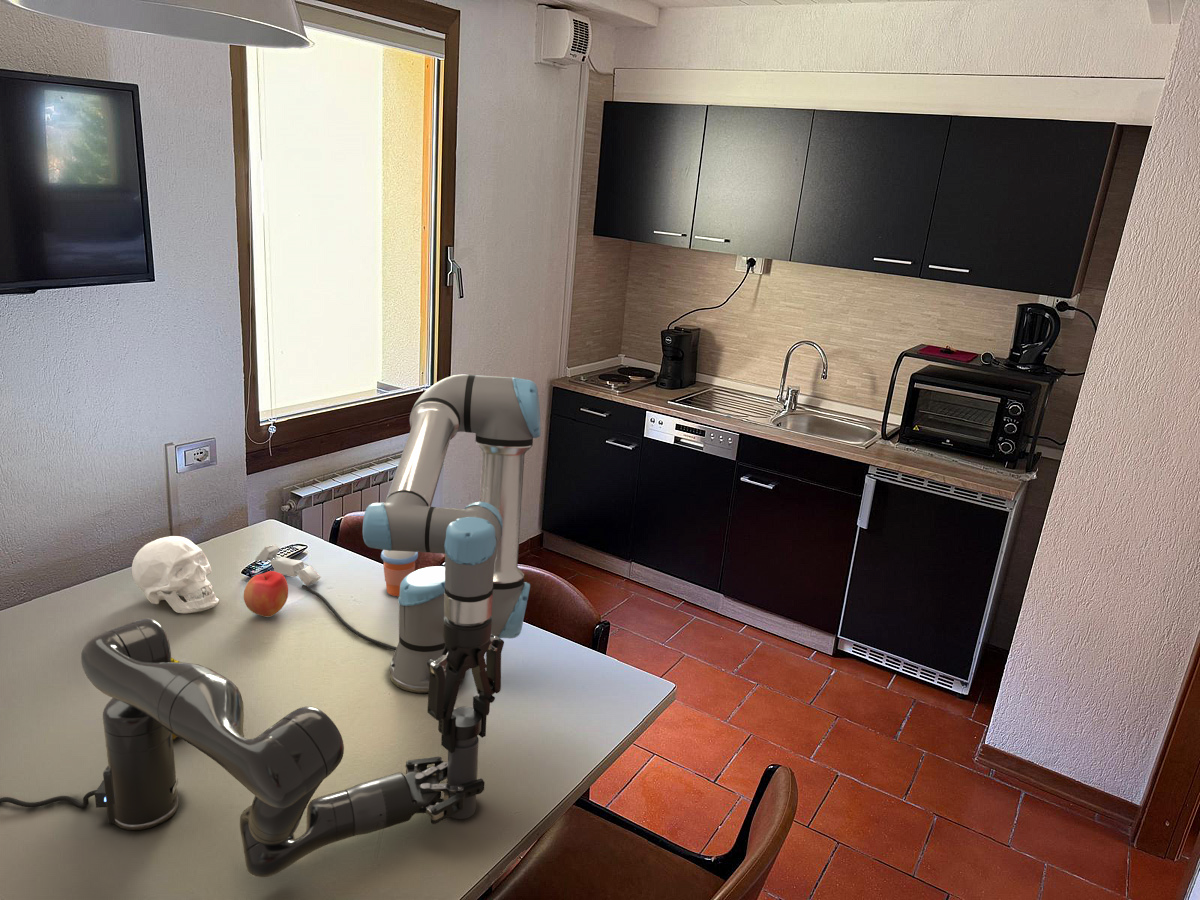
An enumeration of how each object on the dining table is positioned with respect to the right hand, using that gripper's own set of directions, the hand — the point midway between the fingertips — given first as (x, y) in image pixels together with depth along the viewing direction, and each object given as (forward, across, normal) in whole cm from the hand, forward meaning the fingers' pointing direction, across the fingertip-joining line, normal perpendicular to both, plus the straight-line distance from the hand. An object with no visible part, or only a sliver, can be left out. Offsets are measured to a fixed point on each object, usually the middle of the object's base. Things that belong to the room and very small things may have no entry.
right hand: (463, 740), depth 141 cm
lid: (-4, 0, 0) cm, 4 cm away
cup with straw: (+14, -35, -73) cm, 82 cm away
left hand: (+7, -2, +1) cm, 8 cm away
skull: (+14, +9, -99) cm, 101 cm away
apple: (+14, -4, -81) cm, 83 cm away
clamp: (+14, -17, -97) cm, 100 cm away
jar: (+13, 0, 0) cm, 13 cm away
